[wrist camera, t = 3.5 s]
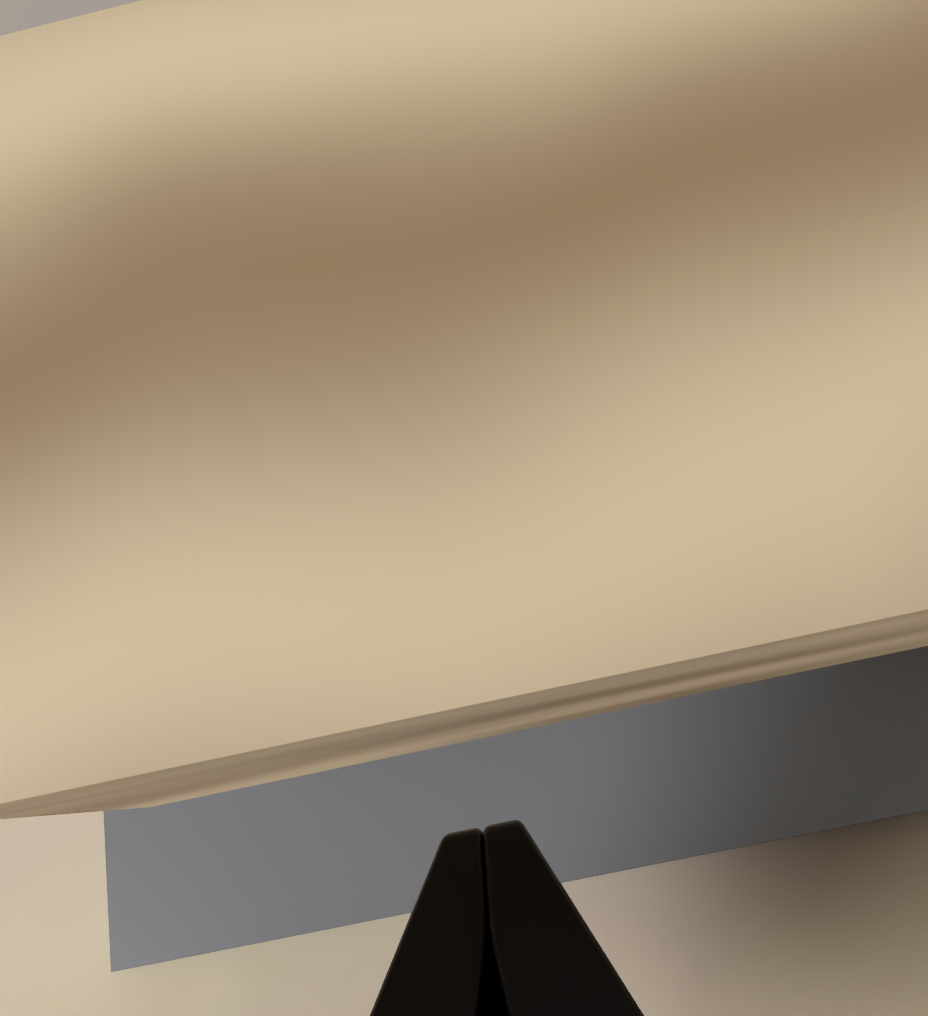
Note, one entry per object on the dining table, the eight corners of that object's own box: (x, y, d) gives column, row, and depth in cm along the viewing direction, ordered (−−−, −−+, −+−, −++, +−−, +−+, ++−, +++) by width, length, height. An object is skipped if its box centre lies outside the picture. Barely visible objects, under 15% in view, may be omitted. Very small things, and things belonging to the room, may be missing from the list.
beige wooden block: (1341, 573, 15) (2729, 216, 5) (251, 799, 16) (-220, 836, 6) (1119, 177, 18) (1763, -512, 8) (208, 387, 19) (-156, -16, 9)
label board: (1511, 688, 15) (1574, 682, 14) (132, 962, 16) (107, 973, 15) (1154, 94, 19) (1184, 60, 18) (98, 342, 21) (77, 322, 20)
